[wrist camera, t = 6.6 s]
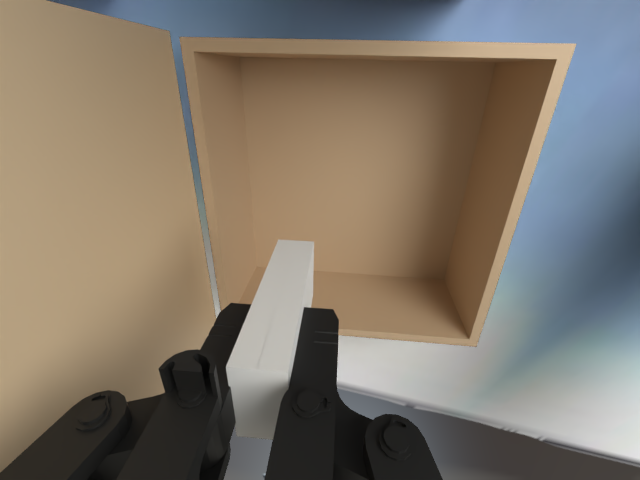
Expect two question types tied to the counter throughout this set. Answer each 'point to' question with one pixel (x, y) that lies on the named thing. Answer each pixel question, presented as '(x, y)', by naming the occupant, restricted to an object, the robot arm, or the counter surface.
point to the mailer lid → (91, 216)
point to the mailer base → (372, 169)
